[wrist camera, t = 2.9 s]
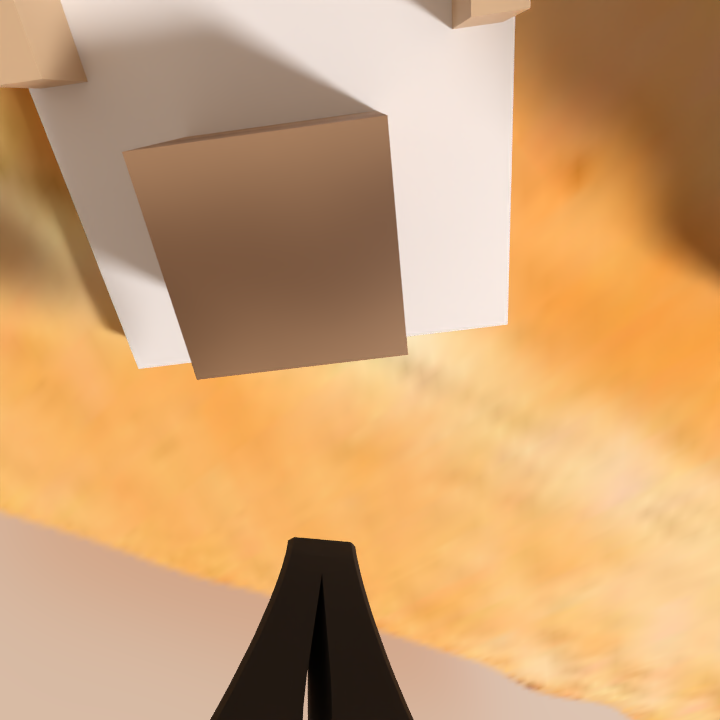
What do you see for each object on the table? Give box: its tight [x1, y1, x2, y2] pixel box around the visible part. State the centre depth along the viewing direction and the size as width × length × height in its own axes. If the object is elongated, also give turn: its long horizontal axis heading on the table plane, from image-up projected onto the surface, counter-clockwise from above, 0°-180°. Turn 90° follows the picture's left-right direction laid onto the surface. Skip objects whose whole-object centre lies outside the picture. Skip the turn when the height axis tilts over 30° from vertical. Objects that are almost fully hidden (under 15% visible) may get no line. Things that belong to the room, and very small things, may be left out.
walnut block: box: [122, 111, 408, 380], centre depth 12 cm, size 5×5×4 cm
